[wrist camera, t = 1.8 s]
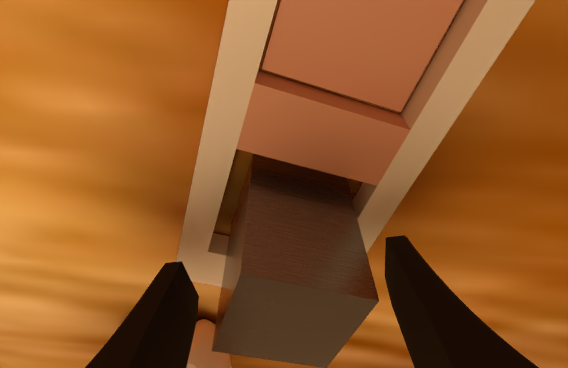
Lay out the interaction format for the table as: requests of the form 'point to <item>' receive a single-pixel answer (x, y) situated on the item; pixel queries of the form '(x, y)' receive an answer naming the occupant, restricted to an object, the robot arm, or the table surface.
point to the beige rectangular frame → (338, 99)
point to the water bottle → (206, 348)
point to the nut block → (293, 267)
